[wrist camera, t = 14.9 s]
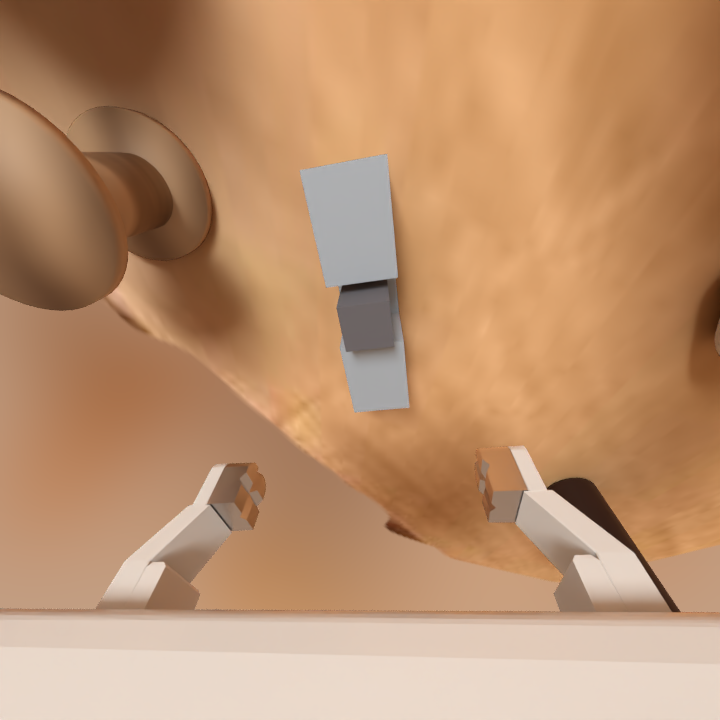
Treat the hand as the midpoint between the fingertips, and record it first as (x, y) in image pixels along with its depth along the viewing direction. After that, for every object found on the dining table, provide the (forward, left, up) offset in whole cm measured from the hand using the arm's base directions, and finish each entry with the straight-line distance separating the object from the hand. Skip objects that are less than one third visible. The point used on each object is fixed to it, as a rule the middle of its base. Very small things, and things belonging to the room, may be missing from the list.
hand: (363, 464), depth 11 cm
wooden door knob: (+16, -10, -19) cm, 27 cm away
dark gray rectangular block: (0, 0, -18) cm, 18 cm away
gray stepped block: (0, 0, -19) cm, 19 cm away
